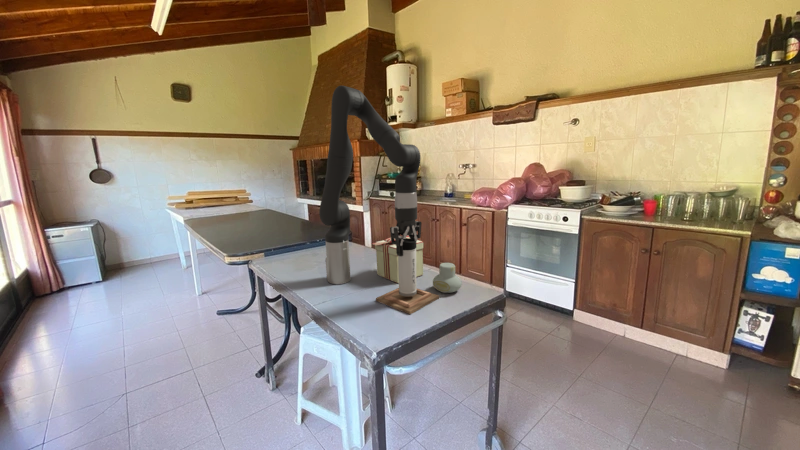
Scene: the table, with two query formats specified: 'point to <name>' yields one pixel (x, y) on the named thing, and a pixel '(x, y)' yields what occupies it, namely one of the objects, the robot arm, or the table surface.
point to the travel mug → (407, 269)
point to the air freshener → (447, 279)
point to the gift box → (394, 259)
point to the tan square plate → (407, 300)
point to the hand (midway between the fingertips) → (406, 253)
